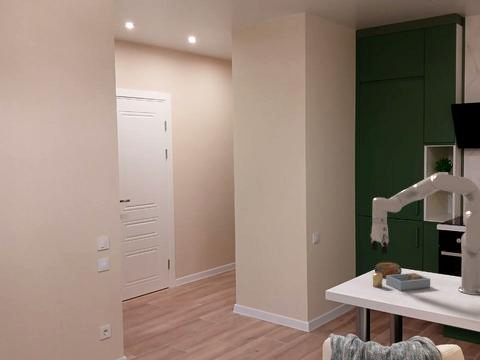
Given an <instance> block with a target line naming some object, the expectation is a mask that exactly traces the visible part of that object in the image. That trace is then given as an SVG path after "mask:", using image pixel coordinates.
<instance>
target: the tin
mask: <svg viewBox="0 0 480 360" xmlns="http://www.w3.org/2000/svg"><path fill="white" fill-rule="evenodd" d="M374 273H382V278H386V275H397V274H402V267H401V266H400V264H398V263H396V262H378V263H377V264H376V265H375V267H374Z"/></svg>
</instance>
